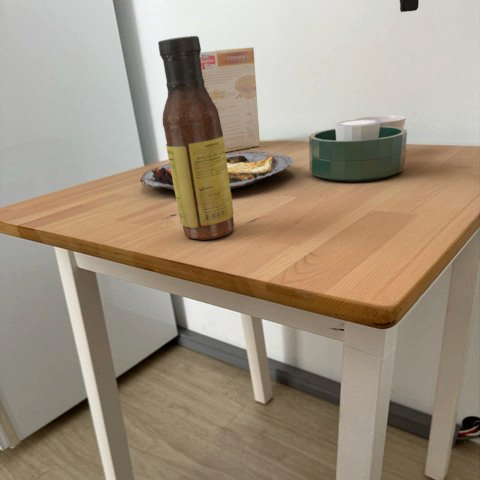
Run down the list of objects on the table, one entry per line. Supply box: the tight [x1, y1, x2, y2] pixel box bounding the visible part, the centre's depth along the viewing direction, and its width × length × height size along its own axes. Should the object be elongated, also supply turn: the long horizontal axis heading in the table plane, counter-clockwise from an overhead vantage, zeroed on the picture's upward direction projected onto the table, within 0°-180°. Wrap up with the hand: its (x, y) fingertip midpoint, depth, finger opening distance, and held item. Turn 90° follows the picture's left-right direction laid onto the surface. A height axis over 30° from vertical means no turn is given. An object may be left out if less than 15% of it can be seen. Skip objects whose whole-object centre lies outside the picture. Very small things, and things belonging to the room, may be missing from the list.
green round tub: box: [308, 126, 408, 183], centre depth 75 cm, size 15×15×6 cm
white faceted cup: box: [334, 119, 381, 141], centre depth 74 cm, size 7×7×7 cm
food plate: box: [139, 151, 295, 192], centre depth 78 cm, size 25×23×4 cm
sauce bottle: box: [157, 35, 235, 241], centre depth 51 cm, size 7×6×20 cm
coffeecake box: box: [200, 46, 261, 153], centre depth 101 cm, size 15×7×20 cm, turn 120°
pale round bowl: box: [353, 114, 407, 129], centre depth 84 cm, size 9×9×6 cm
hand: (441, 5), depth 61 cm, fingers open, 9 cm apart
